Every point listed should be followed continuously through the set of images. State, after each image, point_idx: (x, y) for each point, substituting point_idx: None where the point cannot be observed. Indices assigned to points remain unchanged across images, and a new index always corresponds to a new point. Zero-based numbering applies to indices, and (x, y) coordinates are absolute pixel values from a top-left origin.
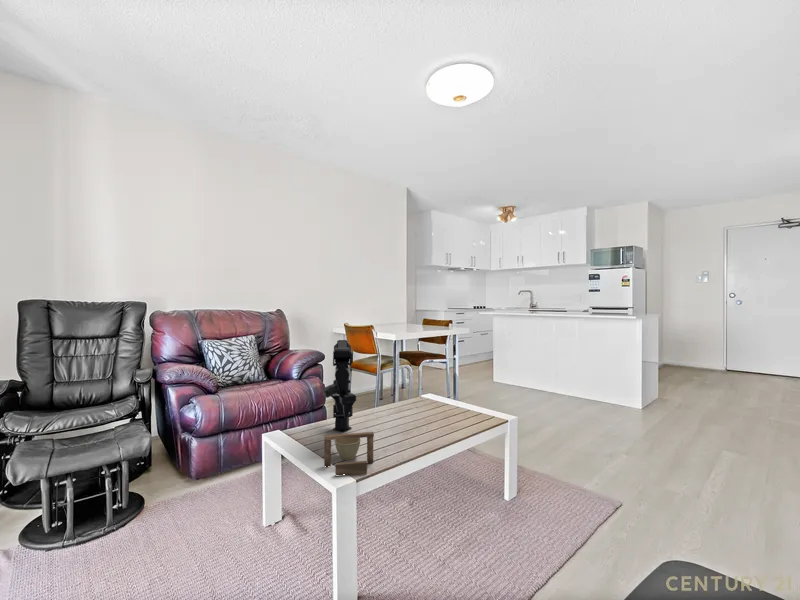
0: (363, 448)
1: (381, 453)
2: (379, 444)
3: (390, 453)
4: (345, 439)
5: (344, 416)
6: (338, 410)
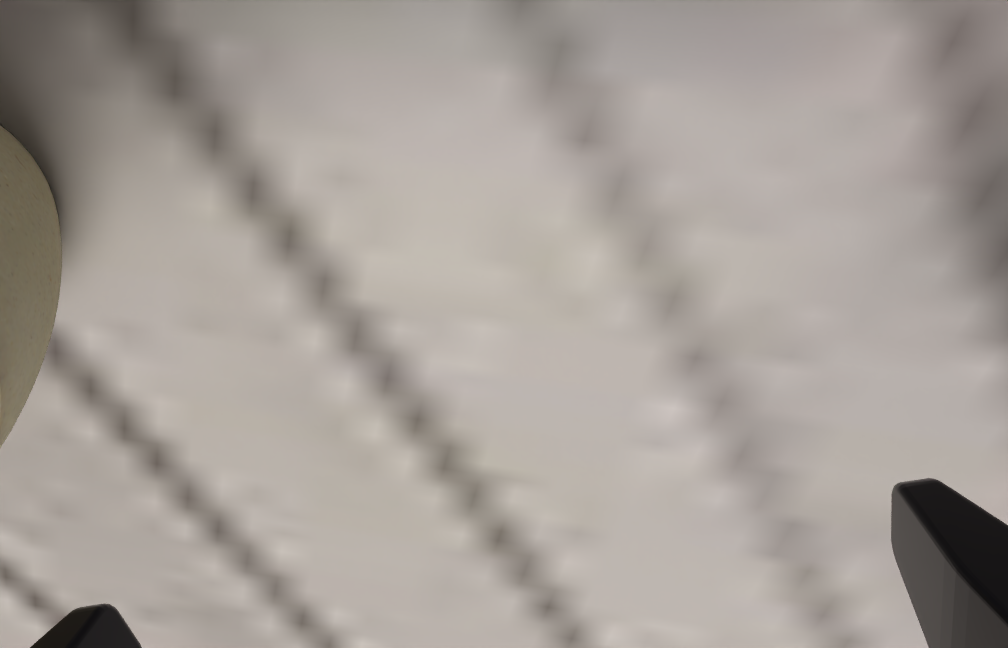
0: (291, 433)
1: (113, 573)
2: (396, 607)
3: None
4: (2, 283)
5: (56, 627)
6: (918, 556)
